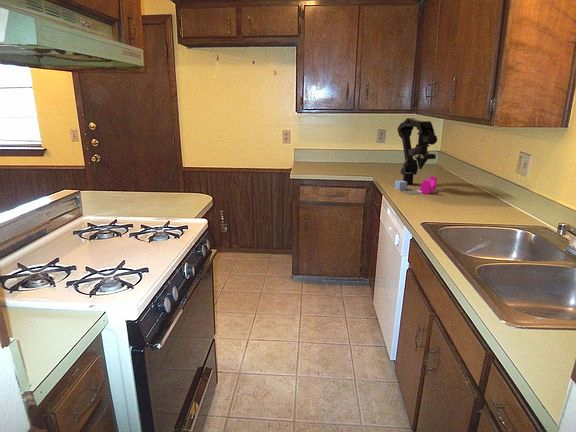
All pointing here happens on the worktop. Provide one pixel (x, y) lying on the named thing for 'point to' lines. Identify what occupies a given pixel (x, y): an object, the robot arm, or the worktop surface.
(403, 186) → the slate blue cube
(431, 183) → the toy block
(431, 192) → the letter mat
